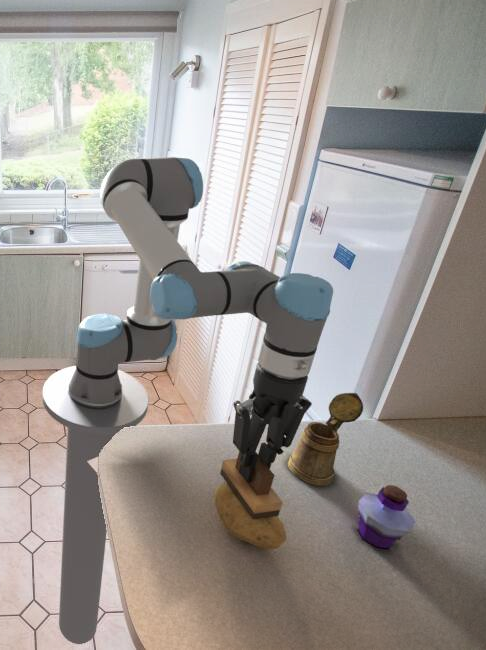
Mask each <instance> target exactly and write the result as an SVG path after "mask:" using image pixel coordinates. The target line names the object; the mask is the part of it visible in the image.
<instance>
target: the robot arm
mask: <svg viewBox="0 0 486 650" xmlns="http://www.w3.org/2000/svg"><path fill="white" fill-rule="evenodd" d="M99 194H100V195H99V197H100V203H101V206H102V209H103V210H104V212H105V214H106V215H107V217H108V218H109V219H111V220H112V221H115V222H116V223H117V224H118V226H119V227H120V229H121V231H122V232H123V234H124V236H125V237H126V239H127V240H128V242H129V244H130V245H131V247H132V248H133V250H134V252H135V254H136V255H137V257H138V258H139V259H138V260H139V261H138V268H137V269H138V270H137V277H136V287H135V294H134V300H133V302H134V303H133V306H132V307H130V308H129V309H128V310H127V313H126V319H123V320H122V319H121V318H120V317H118V316H117V315H116V314H115V315H114V314H108V313H98V314H92V315H90V316H87V317H86V318H83V320H82V321H81V322H80V323H79V325H78V329H77V334H76V357H75V359H76V360H75V361H76V362H75V366H76V369H75V372H74V374H73V376H72V378H71V381H70V383H69V390H68V392H69V396H70V398H71V399H72V400H73V401H74V402H75V403H77V404H79V405H81V406H83V407H86V408H90V409H106V408H110V407H113V406H115V405H116V404H118V403H119V402H120V400H121V398H122V383H120V379H119V376H118V370H119V364H125V363H132V362H133V363H134V362H141V361H157V360H159V359H164V358H168V357H169V356H170V355H171V354H172V353H173V352H174V351H175V348H176V347H177V343H178V332H177V330H178V329H177V325H176V323H175V321H174V320H188V319H194V318H195V319H196V318H203V317H212V316H213V317H214V316H226V315H227V316H228V315H236V314H250V315H251V316H253V317H255V318H257V319H258V320H259V321H261V322H262V323H264V324H265V325H266V326H265V332H264V333H263V337H262V343H261V347H260V351H259V354H258V357H257V361H258V362H257V363H256V365H255V366H256V367H255V369H254V374H253V379H252V383H253V390H252V391H251V393H250V394H249V396H248V399H247V400H244V401H242V402H241V401H240V400H235V401H234V402H233V403H232V405H233V407H234V411H235V416H234V426H233V433H232V434H233V435H232V444H233V445H234V446H235V448H236V449H237V450H238V452H239V451H240V452H241V454H240V458H239V461H240V462H241V465H240V469H239V473H240V474H241V475H242V477H243V478H244V479H245V481H246V482H247V483H250V482H251V480H252V476H253V473H254V469H255V466H256V463H257V459H258V456H259V457H260V459H261V460H262V461H263V462H264V463H265V464H266V466H267V467H268V468H269V469H270V470H271V467H272V464H274V463H275V461H276V458H277V455H278V456H279V455H283V454H284V450H283V449H282V448H283V447H284V448H287V449H288V448H289V447H290V446H291V445H292V443H293V441H294V440H295V439H294V438H295V437H296V434H297V432H298V429H299V427H300V426H301V423H302V420H303V418H304V416H305V414H306V413H307V412H308V410H309V409H310V408H311V407H312V404H313V403H312V402H311V400H309V399H308V398H307V397H306V396H305V395H304V392H305V390H306V389H305V388H306V385H307V383H308V380H309V376H308V375H309V374H310V372H311V369H312V367H313V362H314V359H315V355H316V353H317V350H318V346H319V343H320V340H321V336H322V333H323V330H324V327H325V325H326V322H327V320H328V317H329V315H330V313H331V305H332V301H333V295H334V287H333V285H332V284H331V282H329V281H328V280H326V279H324V278H322V277H319V276H313V275H311V274H310V273H309V274H308V273H302V272H291V273H285V274H282V275H281V276H279V275H277V274H275V273H273V272H271V271H269V270H268V269H267V268H264V267H263V266H261V265H259V264H256V263H252V262H250V261H244V260H243V261H237V262H235V263H233V264H231V265H229V266H227V267H226V268H225V270H219V271H216V270H215V271H200V269H199V267H197V265H196V264H195V263H194V261H193V260H192V259H191V257H190V256H189V255H188V253H187V252H186V251H185V249H184V248H183V246H182V245H181V244H180V243H179V242H178V240H179V233H180V227H181V225H182V224H183V223H184V222H185V221H187V220H188V219H189V212H190V210H192V209H194V208H196V207H198V205H199V203H201V201H202V198H203V194H204V179H203V174H202V172H201V171H200V167H199V166H198V164H197V163H196V162H195V161H194V160H193V159H191V158H188V157H187V158H186V157H176V156H172V157H171V156H169V157H149V158H147V157H146V158H129V159H126V160H123V161H121V162H119V163H117V164H115V165H114V166H113V167H112V168H111V169H110V170H109V171H108V172H107V174H106V175H105V177H104V179H103V180H102V183H101V186H100V193H99ZM266 427H267V432H266V438H265V442H261V439H262V437H263V434H264V432H265V430H266ZM260 442H261V443H260ZM259 444H260V446H259ZM258 447H259V450H258V452H257V449H258Z"/></svg>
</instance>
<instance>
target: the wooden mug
mask: <svg viewBox="0 0 486 650" xmlns="http://www.w3.org/2000/svg"><path fill="white" fill-rule="evenodd" d="M328 412H329V415H330V416H329V418H328V419H327V421H326V422H325V423H322V422H318V421H313V422H310V423H308V424H307V426H306V427H305V428H304V429H303V431H302V433H301V434H300V437H301V438H300V440H299V441H298V444H297V445H296V446H295V449H294V451H293V452H291V455H290V456H289V458H288V462H287V466H288V469H289V470H290V471H291V473H292V474H293V475H294V476H296V477H297V478H299V480H302V481H304V482H306V483H309V484H312V485H315V486H327V485H329V484H330V483H332V481H334V475H335V469H334V467H335V461H336V456H337V451H338V450H339V447H340V435H339V433H338V430H339V429H340V428H341V426H342V425H343V424H344V423H351V422H355V421H356V420H358V419H359V418H360V417H361V415H362V414H363V412H364V403H363V401H362V399H361V397H360V395H358V393H357V392H344V393H343V392H342V393H339V394H337V395H335V396H334V397H333V398H332V399H331V401H330V403H329V404H328Z"/></svg>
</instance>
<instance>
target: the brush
mask: <svg viewBox="0 0 486 650" xmlns="http://www.w3.org/2000/svg"><path fill="white" fill-rule="evenodd" d="M240 454H241V452H240V451H239V450H238V453H237V458H232V459H223V460H222V464H221V469H220V473H219V474H220V476H222V478H223V480H224V481H225V483H227V484H228V485H229V487H230V488H231V490H232V491H233V492H234V494H235V495H236V497H237V498H238V499H239V501H240V502H241V504H242V505H243V506H244V508H245V509H246V511H247V512H248V513H249V515H250V516H251V518H252V519H260V518H267V517H274V516H278V517H279V515H280V511H281V509H282V506H283V504H284V503H283V502H284V501H283V500H282V499H281V497H280V496H279V495H278V494H277V492H275V491H274V489H273V487H272V485H273V482H274V480H275V479H274V478H275V474H274V473H273V471H272V470H271V468H270V469H269V468H268V467H267V466H266V464H265V463H264V462H263V461H262V460H261V459H260V457H259V456H258V459H257V463H256V466H255V469H254V473H253V476H252V480H251V482H250V483H247V482H246V481H245V479H244V478H243V477H242V475H241V474H240V473H239V469H240V465H241V462H240V461H239V458H240Z"/></svg>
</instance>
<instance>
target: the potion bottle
mask: <svg viewBox="0 0 486 650" xmlns="http://www.w3.org/2000/svg"><path fill="white" fill-rule="evenodd" d="M409 502H410V501H409V499H408V494H407V493H406V491H405V490H404V489H402V488H400V487H398V486H397V485H391V484H388V485H386V486H385V487H384V486H383V487H382V488H381V489H380V490H379V491H378V492H377V493H369V492H367V493H365V494H364V495H363V496H362V497H361V498H360V499H359V500H358V510H357V514H358V516H359V518H358V528H357V532H358V534H359V536H360V538H361V540H362V541H364V542H365V543H367V544H368V545H370V546H371V547H373V548H374V549H379V550H387V551H388V550H390V548H391V547H392V546H393V545H394V543H395V542H396V541H400V540H401V539H402V538H403V537H405V536H406V535H407V534H408V533H409V532H410V531H411V530H412V528H413V527H414V526H415V524H417V521H416V520H415V518H414V517H413V515H412V514H411V512H410V511H409V510H408V508H407V507H408V505H409Z"/></svg>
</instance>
